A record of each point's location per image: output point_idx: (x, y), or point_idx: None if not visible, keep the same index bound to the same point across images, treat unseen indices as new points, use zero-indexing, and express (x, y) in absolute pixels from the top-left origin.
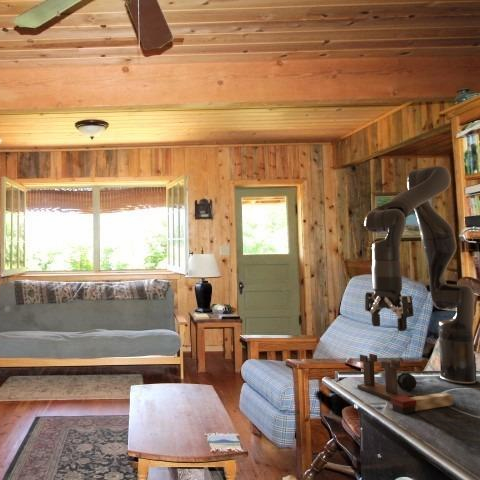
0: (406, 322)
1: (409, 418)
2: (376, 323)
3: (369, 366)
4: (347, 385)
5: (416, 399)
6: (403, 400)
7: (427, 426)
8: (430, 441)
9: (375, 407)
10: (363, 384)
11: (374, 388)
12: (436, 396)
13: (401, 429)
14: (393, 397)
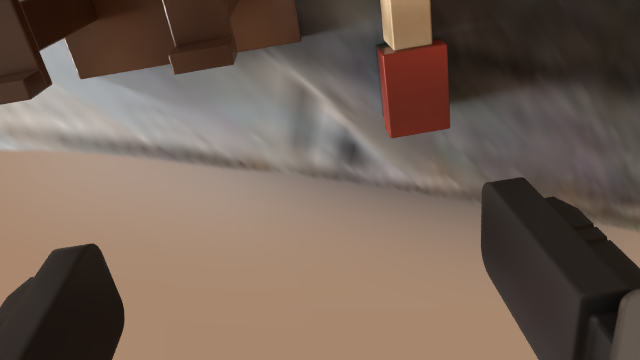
0: (626, 260)
1: (472, 116)
2: (104, 318)
3: (51, 44)
4: None
5: (424, 19)
6: (435, 111)
7: (550, 110)
8: (629, 193)
9: (343, 162)
10: (70, 39)
11: (144, 27)
12: None
13: None
14: (391, 126)
